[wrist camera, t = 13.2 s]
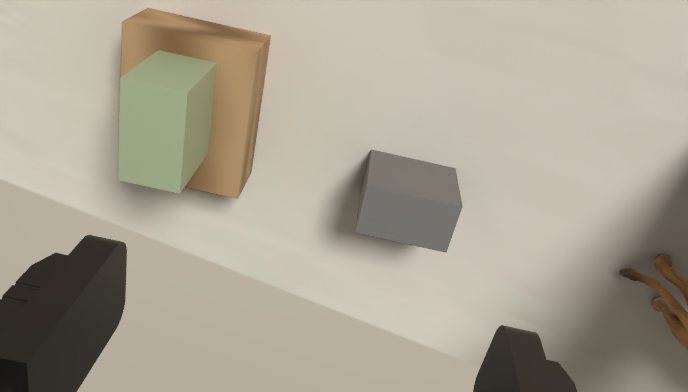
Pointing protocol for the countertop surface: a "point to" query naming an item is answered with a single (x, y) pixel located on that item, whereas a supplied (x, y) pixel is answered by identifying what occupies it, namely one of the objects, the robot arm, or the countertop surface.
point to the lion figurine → (667, 296)
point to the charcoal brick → (409, 201)
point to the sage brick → (165, 120)
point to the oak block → (229, 93)
